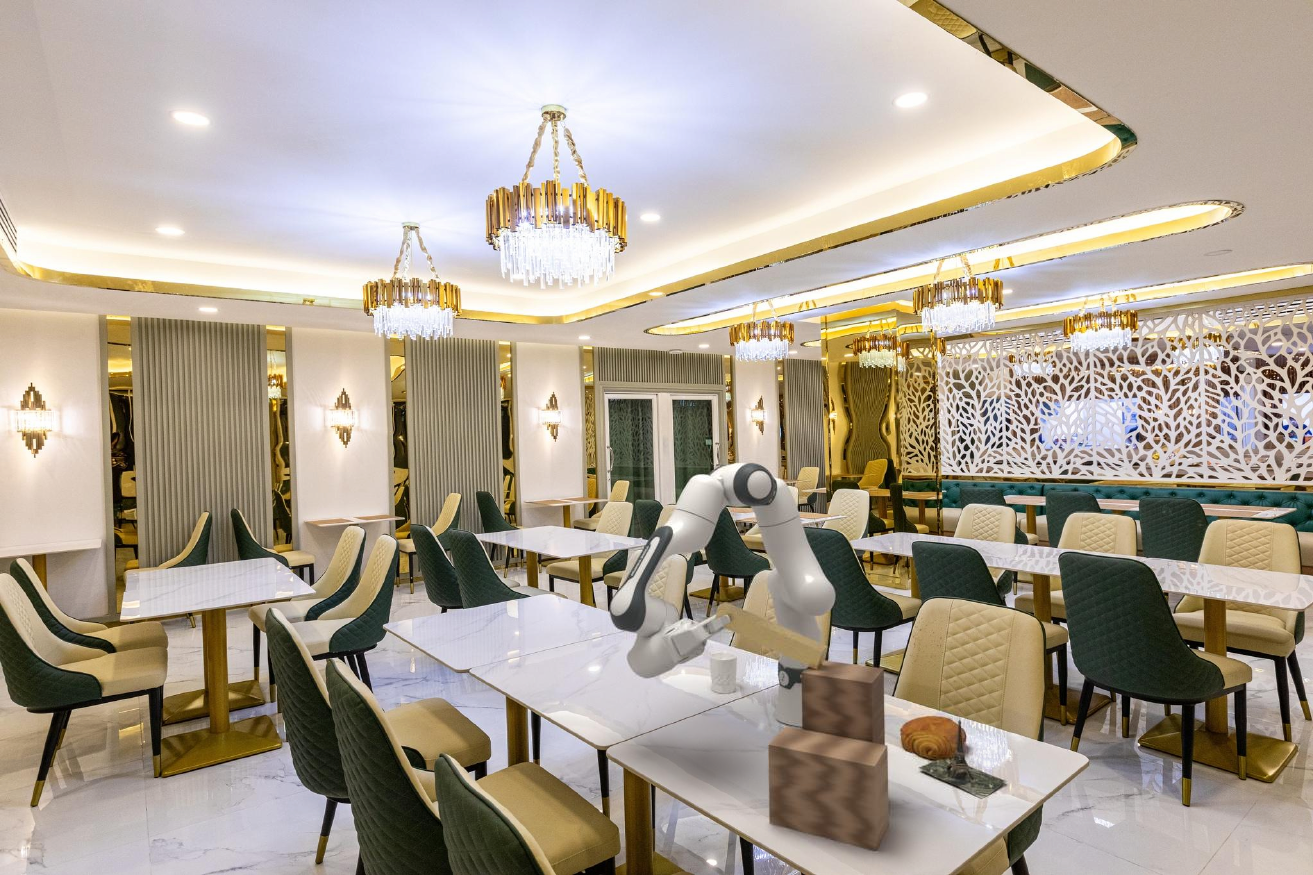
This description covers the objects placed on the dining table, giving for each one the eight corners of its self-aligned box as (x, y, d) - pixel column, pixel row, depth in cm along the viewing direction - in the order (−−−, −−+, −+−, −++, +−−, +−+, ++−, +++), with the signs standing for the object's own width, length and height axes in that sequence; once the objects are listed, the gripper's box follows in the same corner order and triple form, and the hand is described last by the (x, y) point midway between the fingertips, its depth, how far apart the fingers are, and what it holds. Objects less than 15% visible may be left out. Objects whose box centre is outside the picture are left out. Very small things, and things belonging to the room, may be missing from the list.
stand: (769, 823, 141) (767, 686, 141) (804, 778, 159) (803, 657, 159) (876, 850, 131) (873, 704, 131) (900, 799, 149) (898, 670, 149)
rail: (713, 622, 162) (718, 606, 161) (721, 618, 165) (725, 601, 164) (816, 669, 150) (821, 651, 150) (822, 663, 154) (827, 646, 153)
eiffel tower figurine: (1008, 784, 155) (1008, 720, 155) (981, 798, 149) (981, 732, 149) (944, 758, 167) (944, 699, 167) (917, 770, 161) (916, 710, 161)
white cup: (736, 695, 211) (735, 660, 211) (708, 693, 212) (707, 658, 212) (738, 686, 218) (738, 652, 218) (712, 684, 220) (711, 651, 220)
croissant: (974, 755, 175) (976, 720, 175) (950, 768, 163) (952, 731, 164) (914, 737, 184) (916, 704, 185) (887, 748, 173) (890, 713, 173)
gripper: (713, 639, 176) (759, 616, 170) (671, 665, 158) (722, 640, 152) (701, 615, 177) (746, 591, 171) (658, 638, 159) (707, 612, 153)
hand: (734, 614), depth 161 cm, fingers closed on rail, 4 cm apart
